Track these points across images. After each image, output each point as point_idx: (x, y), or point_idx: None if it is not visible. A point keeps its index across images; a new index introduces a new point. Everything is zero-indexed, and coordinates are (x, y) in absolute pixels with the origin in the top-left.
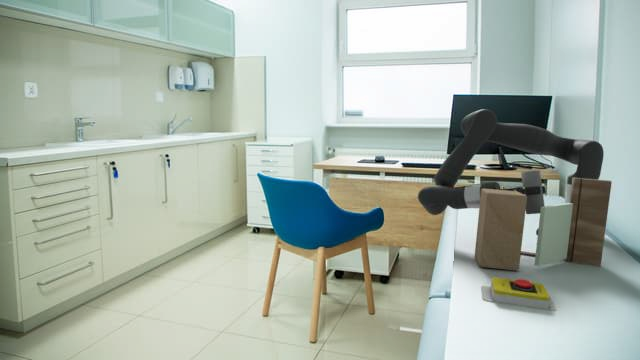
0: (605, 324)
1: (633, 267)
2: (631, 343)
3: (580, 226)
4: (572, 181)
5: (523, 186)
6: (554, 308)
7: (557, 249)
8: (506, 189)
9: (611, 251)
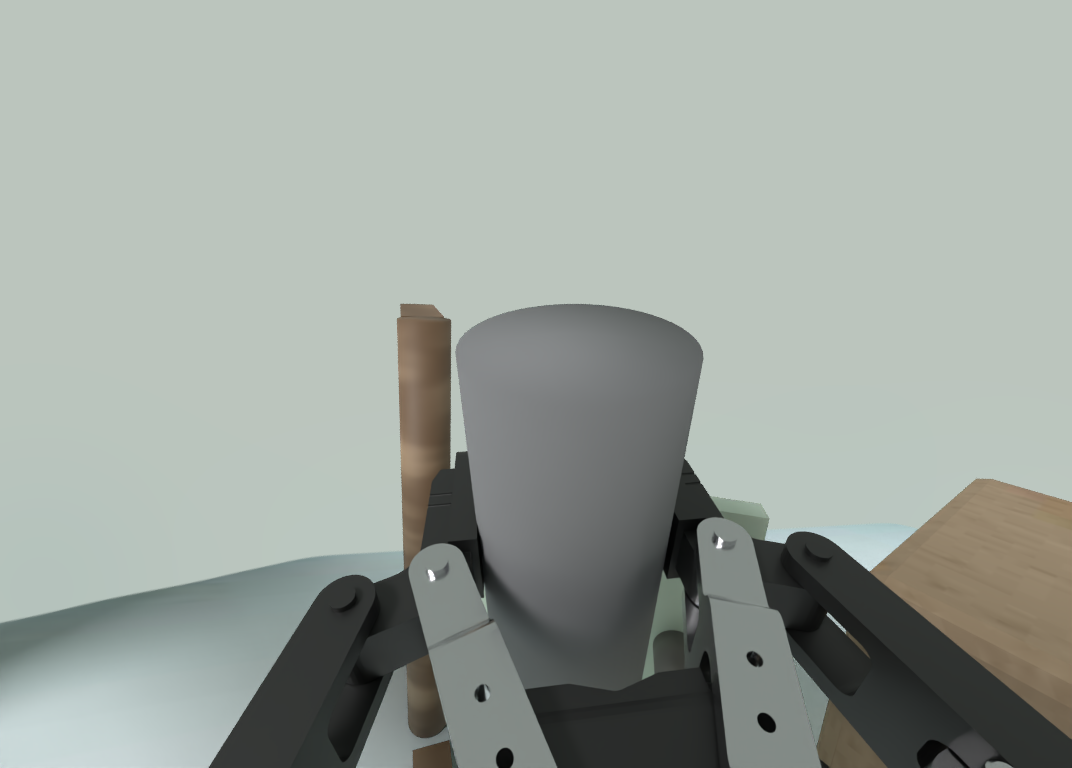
0: (857, 553)
1: (377, 553)
2: (869, 526)
3: None
4: (437, 344)
5: (655, 547)
6: None
7: None
8: (1022, 709)
9: (156, 615)
